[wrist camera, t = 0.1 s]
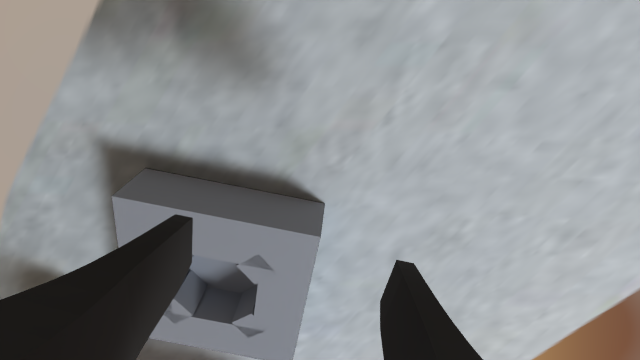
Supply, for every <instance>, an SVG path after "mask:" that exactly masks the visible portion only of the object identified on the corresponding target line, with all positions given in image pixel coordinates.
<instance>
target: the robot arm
mask: <svg viewBox="0 0 640 360" xmlns="http://www.w3.org/2000/svg"><path fill="white" fill-rule="evenodd" d="M192 235H193V218H192V217H187V216H182V215H177V214H175V215H173V216H172V217H170V218H168V219H167V220H165V221H163V222H162V223H160V224H158V225H157V226H155V227H153V228H152V229H150V230H148V231H147V232H145V233H143V234H142V235H140V236H138V237H137V238H135V239H133V240H132V241H130V242H128V243H127V244H125V245H123V246H121V247H120V248H118V249H116V250H114V251H112V252H110V253H108V254H106V255H105V256H103V257H101V258H99V259H97V260H95V261H93V262H91V263H89V264H87V265H85V266H83V267H81V268H79V269H77V270H75V271H72V272H70V273H68V274H66V275H63V276H61V277H59V278H57V279H54V280H52V281H49V282H47V283H44V284H42V285H39V286H36V287H34V288H31V289H28V290H26V291H23V292H21V293H18V294H15V295H13V296H10V297H7V298H4V299H1V300H0V360H136V358H137V356H138V354H139V353H140V351H141V349H142V348H143V346H144V344H145V343H146V341H147V340H148V338H149V336H150V335H151V333H152V332H153V330H154V329H155V327H156V325H157V324H158V322H159V321H160V319H161V318H162V316H163V314H164V313H165V311H166V310H167V308H168V307H169V305H170V303H171V302H172V300H173V299H174V297H175V295H176V294H177V292H178V290H179V289H180V287H181V285H182V283H183V281H184V279H185V277H186V274H187V272H188V270H189V268H190V266H191V263H192ZM380 330H381V339H382V347H383V355H384V360H483V359H482V358H481V357H480V356H479V355H478V353H477V352H476V351H475V350H474V349H473V347H472V346H471V345H470V344H469V343H468V341H467V340H466V339H465V337H464V336H463V335H462V334H461V332H460V331H459V330H458V328H457V327H456V326H455V324H454V323H453V322H452V320H451V319H450V318H449V316H448V315H447V313H446V312H445V310H444V309H443V308H442V306H441V305H440V303H439V302H438V300H437V299H436V297H435V296H434V294H433V293H432V291H431V290H430V288H429V287H428V285H427V283H426V282H425V280H424V279H423V277H422V276H421V274H420V272H419V271H418V269H417V268H416V266H415V265H414V263H409V262H404V261H400V260H396V263H395V265H394V268H393V270H392V273H391V275H390V278H389V280H388V283H387V285H386V288H385V290H384V293H383V296H382V298H381V301H380Z"/></svg>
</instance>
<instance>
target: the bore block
mask: <svg viewBox="0 0 640 360" xmlns="http://www.w3.org/2000/svg"><path fill="white" fill-rule="evenodd" d="M112 203H113V211H114V218H115V226H116V233H117V241H118V248H120V247H121V246H123V245H125V244H127V243H128V242H130V241H132V240H133V239H135V238H137V237H138V236H140V235H142V234H143V233H145V232H147V231H148V230H150V229H152V228H153V227H155V226H157V225H158V224H160V223H162V222H163V221H165V220H167V219H168V218H170V217H172V216H173V215H175V214H177V215H182V216H187V217H192V218H193V235H192V263H191V266H190V268H189V270H188V272H187V274H186V277H185V279H184V281H183V283H182V285H181V287H180V289H179V290H178V292H177V294H176V295H175V297H174V299H173V300H172V302H171V303H170V305H169V307H168V308H167V310H166V311H165V313H164V314H163V316H162V318H161V319H160V321H159V322H158V324H157V325H156V327H155V329H154V330H153V332H152V333H151V335H150V336H149V338H151V339H156V340H161V341H166V342H172V343H177V344H182V345H187V346H193V347H198V348H203V349H208V350H213V351H219V352H224V353H229V354H234V355H240V356H245V357H250V358H255V359H261V360H293V357H294V352H295V348H296V343H297V339H298V335H299V330H300V326H301V321H302V317H303V312H304V308H305V304H306V299H307V295H308V290H309V286H310V282H311V277H312V273H313V268H314V264H315V259H316V255H317V251H318V246H319V242H320V237H321V230H322V222H323V214H324V207H325V204H324V203H319V202H314V201H309V200H304V199H299V198H294V197H289V196H284V195H279V194H274V193H269V192H264V191H258V190H253V189H248V188H243V187H238V186H233V185H228V184H223V183H218V182H213V181H208V180H203V179H198V178H192V177H187V176H182V175H177V174H172V173H167V172H162V171H157V170H152V169H147V168H145V169H144V170H143V171H141V172H140V173H139V174H138V175H137V176H135V177H134V178H133V179H132V180H131V181H129V182H128V183H127V184H126V185H124V186H123V187H122V188H121V189H120V190H118V191H117V192H116V193H115V194H114V195H112Z"/></svg>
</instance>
